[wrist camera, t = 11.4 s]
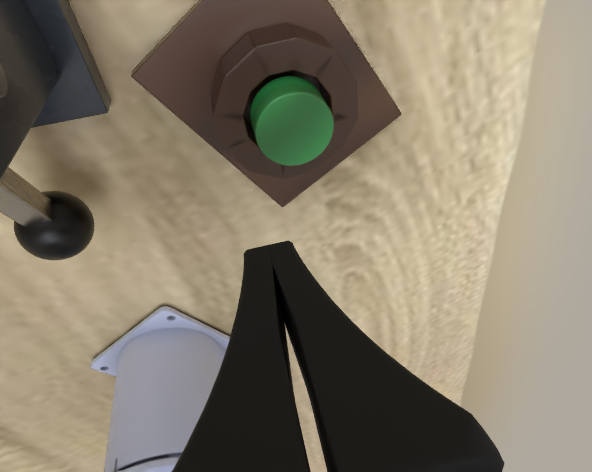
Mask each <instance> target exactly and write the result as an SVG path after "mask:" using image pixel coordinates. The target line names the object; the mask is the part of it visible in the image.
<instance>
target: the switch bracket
mask: <svg viewBox="0 0 592 472" xmlns="http://www.w3.org/2000/svg"><path fill="white" fill-rule="evenodd" d="M110 104H111V99H110V97H109V94H108V92H107V90H106V88H105V85H104V83H103V81H102V78H101V76H100V74H99V72H98V69H97V67H96V65H95V62H94V60H93V58H92V55H91V53H90V51H89V49H88V46H87V44H86V42H85V39H84V37H83V35H82V32H81V30H80V28H79V26H78V23H77V21H76V19H75V16H74V14H73V12H72V10H71V7H70V5H69V3H68V0H0V180H1V178H2V177H3V175H4V173H5V171H6V170H7V168H8V166H9V164H10V163H11V161H12V159H13V158H14V156H15V154H16V152H17V151H18V149H19V147H20V146H21V144H22V142H23V140H24V139H25V137H26V135H27V133H28V132H29V130H30V128H32V127H37V126H42V125H47V124H52V123H58V122H63V121H68V120H73V119H78V118H84V117H89V116H94V115H99V114H104V113H108V111H109V107H110Z"/></svg>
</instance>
